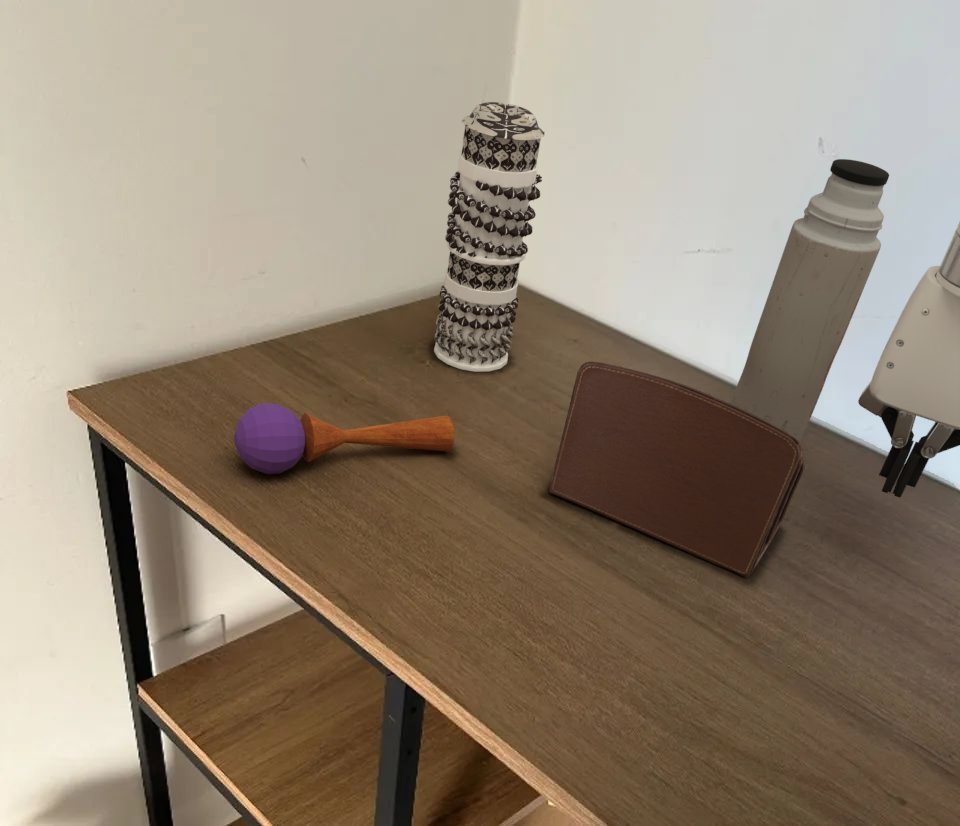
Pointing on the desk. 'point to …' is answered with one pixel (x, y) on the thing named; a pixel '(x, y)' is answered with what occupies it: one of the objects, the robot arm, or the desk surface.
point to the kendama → (324, 437)
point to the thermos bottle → (813, 297)
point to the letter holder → (676, 464)
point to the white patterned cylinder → (487, 235)
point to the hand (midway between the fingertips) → (893, 487)
